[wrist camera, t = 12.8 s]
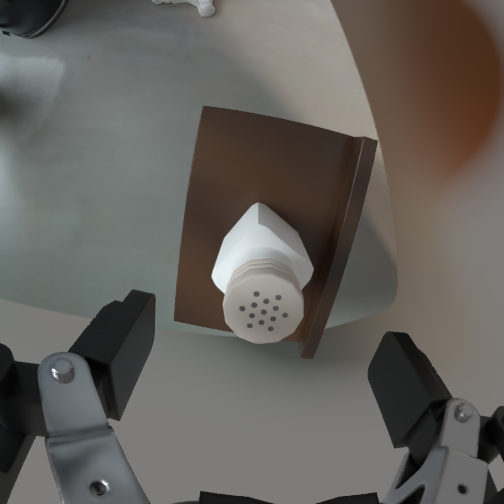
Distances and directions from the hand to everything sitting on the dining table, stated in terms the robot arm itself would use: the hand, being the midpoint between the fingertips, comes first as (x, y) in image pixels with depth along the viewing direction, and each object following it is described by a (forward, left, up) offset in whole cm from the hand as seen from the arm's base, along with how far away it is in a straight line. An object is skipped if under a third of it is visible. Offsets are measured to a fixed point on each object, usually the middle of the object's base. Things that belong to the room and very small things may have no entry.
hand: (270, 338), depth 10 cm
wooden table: (0, 0, -22) cm, 22 cm away
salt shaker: (0, 0, -12) cm, 12 cm away
